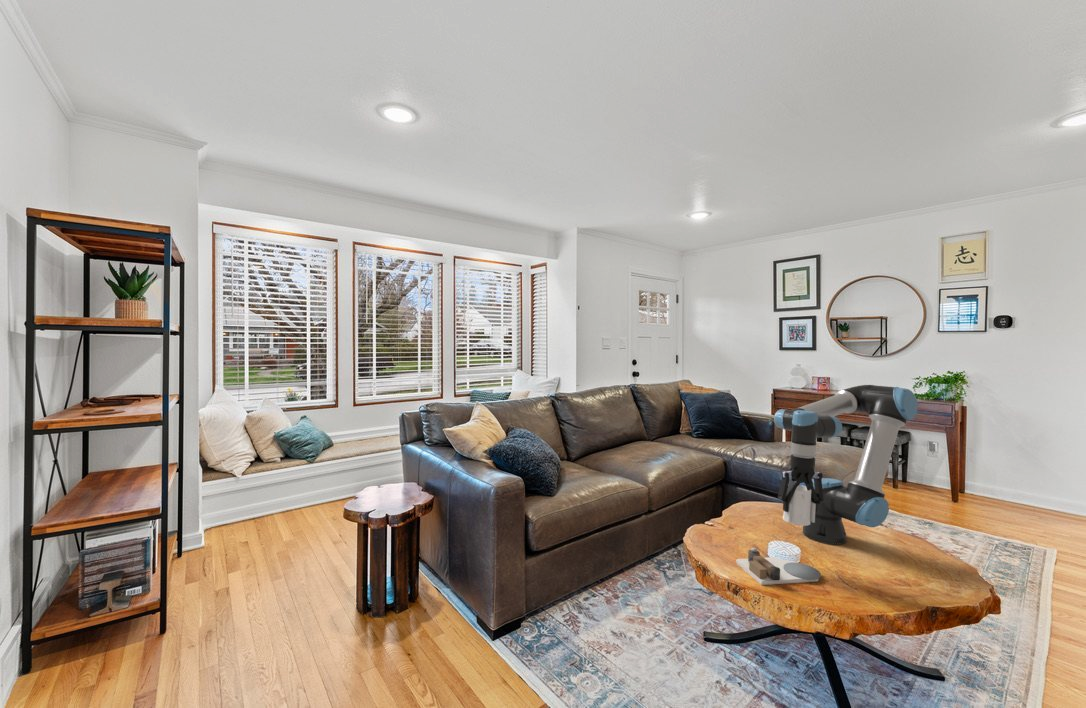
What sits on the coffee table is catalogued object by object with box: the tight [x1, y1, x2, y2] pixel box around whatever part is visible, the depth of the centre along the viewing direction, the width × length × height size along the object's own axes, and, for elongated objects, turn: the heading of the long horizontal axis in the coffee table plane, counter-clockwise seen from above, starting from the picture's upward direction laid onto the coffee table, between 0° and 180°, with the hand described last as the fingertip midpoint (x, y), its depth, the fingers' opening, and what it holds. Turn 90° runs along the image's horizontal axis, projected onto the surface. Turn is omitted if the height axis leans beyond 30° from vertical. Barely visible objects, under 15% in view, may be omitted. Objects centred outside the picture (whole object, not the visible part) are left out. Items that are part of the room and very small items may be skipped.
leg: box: [747, 549, 780, 580], centre depth 156 cm, size 14×4×3 cm, turn 9°
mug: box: [782, 484, 811, 527], centre depth 161 cm, size 12×8×12 cm
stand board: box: [735, 547, 822, 586], centre depth 157 cm, size 23×16×6 cm
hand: (799, 520), depth 161 cm, fingers closed on mug, 8 cm apart
